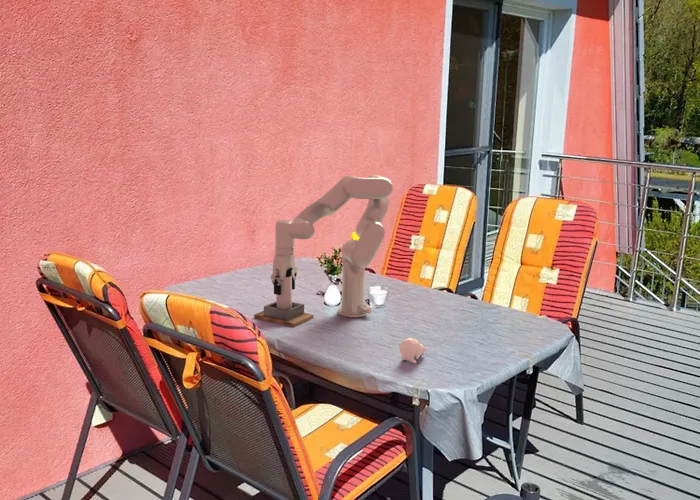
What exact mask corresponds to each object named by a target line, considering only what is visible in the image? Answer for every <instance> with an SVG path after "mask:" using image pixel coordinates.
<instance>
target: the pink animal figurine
mask: <svg viewBox="0 0 700 500" xmlns="http://www.w3.org/2000/svg"><path fill="white" fill-rule="evenodd" d="M425 352H426V346H424V344H422V343H420V341H419V340H417V339H416V338H413V337H408V338H406V339H404V340H403V341H402V342H401V344H400V346H399V353H400V357H401V360H402V361H404V360H406V361H407V360H408V361H409V362H410V363H411V362H412V363H411V364H414V363H415V362H417V363H418V361H416V360H419V358H420V357H421V356H420V355H423V356H424V355H426V353H425ZM414 357H415V358H416V359H415V358H414Z"/></svg>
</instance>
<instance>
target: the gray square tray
mask: <svg viewBox="0 0 700 500" xmlns="http://www.w3.org/2000/svg"><path fill="white" fill-rule="evenodd" d="M263 311H264V316H267V317H272V318H276V319H281V320H285V321H289V320H291V319H293V318H295V317H298V316H300V315H302V314H304V313H305V304H304V303H299V302H295V301H292V308H291V309H289V310H284V309H279V308H277V300H275V301H273V302H270V303H268V304H266V305H263Z"/></svg>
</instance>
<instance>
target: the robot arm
mask: <svg viewBox="0 0 700 500" xmlns="http://www.w3.org/2000/svg"><path fill="white" fill-rule="evenodd" d="M393 190H394V185H393V183H392V182H391V180H390V179H389V178H387V177H384V176H381V175H378V174H373V175H372V174H371V175H369V176H367V177H358V176H355V175H350V174H347V175H345V176H344V177H342V178H341V179H340V180H339V181H338V182H337V183H336V184H334V186H332V187H331V188H330V189H329V190H328V191H327V192H326V193H325V194H324V195H322V196H321V197H320V198H318V199H317V200H316V201H314V202H313V203H311V204H309V205H308V206H306V207H305V208H304V209H303V210H301V212H300V213H299V214H297V215H296V216H295V218H293V220H289V219H282V220H281V219H280V220H277V221H276V222H275V234H274V235H275V238H274V241H275V247H274V249H275V252H274V253H275V254H274V255H273V256H274V257H273V262H272V274H271V275H270V279H271V282H272V285H273V294H274V295H276V294H277V295H281V285H280V283H281V281H282V280H284V279H285V277H286V270H289V269H290V268H293V270H292V273H291V274H292V291H294V290H296V279H297V275H298V270H299V268H298V267H296V258H295V240H296V239H298V240H308V239H311V238H313V236H314V235H315V233H316V232H315V229H316V228H315V227H314V225H315V223H316V222H318V221H319V220H321V219H322V218H324V217H328V216H331V215H334V214H336V213H337V212H338V211H340V209H342V208H343V206H345V205H346V204H347V203H348V202H350V200H351V199H355V200H356V199H358V200H359V199H360V200H368V202H367V205H366V207H365V209H364V212H363V214H362V215H361V217H360V218H359V221H358V223H357V225H356V227H355V233H356V236H358V237H359V238H358V240H357V239H351V240H348V241H346V242H345V243H344V245H342V249H341V262H342V278H341V280H342V283H341V286H342V287H341V307H340V308H338V309H337V314H338V315H339V316H341V317H345V318H362V317H365V316H367V315H368V314H370V315H371V313H372V307H367V303H365V288H366V287H365V285H366V268H367V267H368V266H369V265H370V264H371V263H372V261H373V260H374V259H375V257H376V255H377V253H378V251H379V249H380V248H381V245H382V244H383V241H384V239H385V235H386V231H385V227H384V226H383V224H382V222H383V221H384V219H385V217H386V214H387V212H388V209H389V203H390V202H389V201H390V200H389V196H391V195H392V193H393ZM279 277H280V278H279ZM277 280H279V281H277Z"/></svg>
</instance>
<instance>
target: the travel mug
mask: <svg viewBox="0 0 700 500" xmlns="http://www.w3.org/2000/svg"><path fill="white" fill-rule="evenodd" d="M292 270H293V268H290V269H289V270H286V277H285V279H284V280H282V281H281V283H280V285H281V295H277V294H275V295H276V301H277V308H279V309H284V310H289V309H291V308H292V302H293V301H292V300H293V299H292V297H293V296H292V295H293V293H292V292H293V289H292V274H291V273H292ZM279 278H280V277H279ZM277 281H279V280H277Z"/></svg>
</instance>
